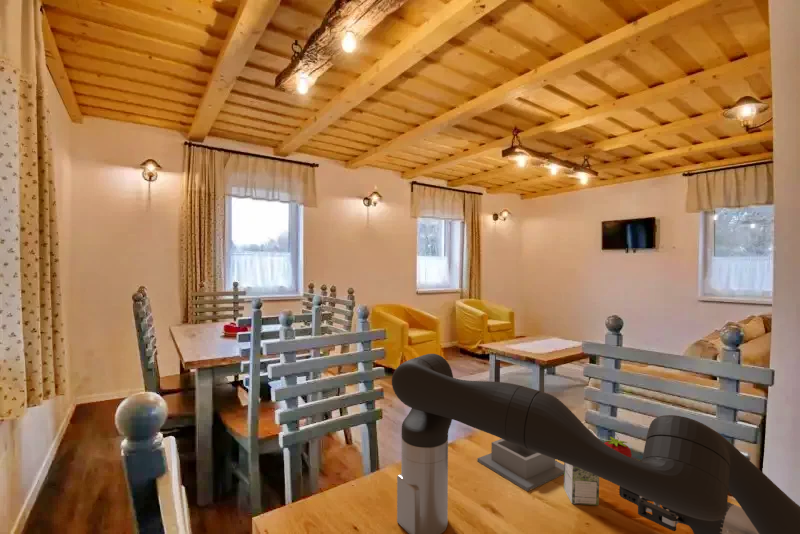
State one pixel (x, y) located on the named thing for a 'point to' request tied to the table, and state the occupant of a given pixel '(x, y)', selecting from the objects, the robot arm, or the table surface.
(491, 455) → the holder
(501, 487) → the table surface
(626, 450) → the strawberry
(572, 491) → the syrup box
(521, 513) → the table surface
